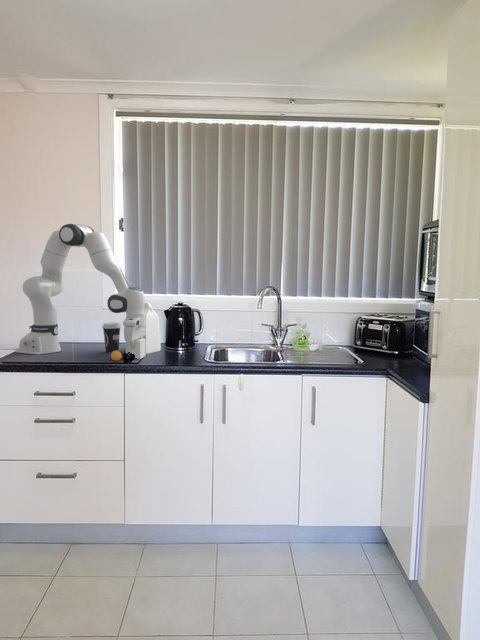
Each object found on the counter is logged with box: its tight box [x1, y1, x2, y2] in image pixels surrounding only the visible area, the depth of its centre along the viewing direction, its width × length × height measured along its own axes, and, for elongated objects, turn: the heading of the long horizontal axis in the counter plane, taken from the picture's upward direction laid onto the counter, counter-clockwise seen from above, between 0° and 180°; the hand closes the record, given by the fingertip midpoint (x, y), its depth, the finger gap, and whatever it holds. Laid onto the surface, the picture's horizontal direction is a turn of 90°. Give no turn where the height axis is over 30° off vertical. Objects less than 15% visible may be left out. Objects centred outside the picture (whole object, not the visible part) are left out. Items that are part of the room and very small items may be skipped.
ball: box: [110, 350, 122, 362], centre depth 219 cm, size 5×5×5 cm
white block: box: [125, 338, 147, 360], centre depth 228 cm, size 7×7×9 cm
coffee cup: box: [101, 321, 122, 354], centre depth 240 cm, size 10×10×15 cm
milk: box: [142, 301, 162, 355], centre depth 243 cm, size 12×12×26 cm
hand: (135, 347), depth 228 cm, fingers closed on white block, 7 cm apart
